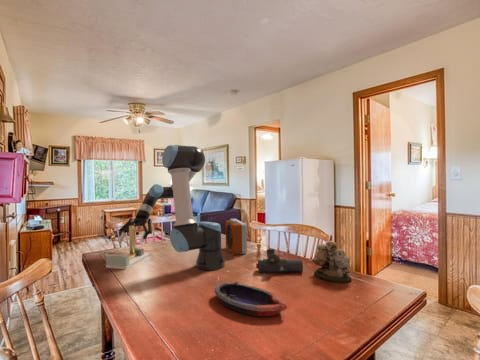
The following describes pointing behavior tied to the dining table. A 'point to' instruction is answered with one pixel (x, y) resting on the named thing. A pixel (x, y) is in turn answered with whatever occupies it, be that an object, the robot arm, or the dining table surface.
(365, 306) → the dining table surface
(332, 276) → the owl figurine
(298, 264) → the laser sight
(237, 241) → the alarm clock
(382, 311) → the dining table surface
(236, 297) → the dish
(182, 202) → the robot arm
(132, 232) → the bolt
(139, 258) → the jamb board
